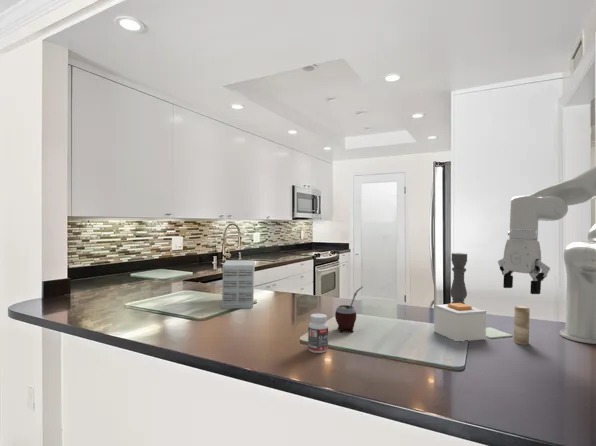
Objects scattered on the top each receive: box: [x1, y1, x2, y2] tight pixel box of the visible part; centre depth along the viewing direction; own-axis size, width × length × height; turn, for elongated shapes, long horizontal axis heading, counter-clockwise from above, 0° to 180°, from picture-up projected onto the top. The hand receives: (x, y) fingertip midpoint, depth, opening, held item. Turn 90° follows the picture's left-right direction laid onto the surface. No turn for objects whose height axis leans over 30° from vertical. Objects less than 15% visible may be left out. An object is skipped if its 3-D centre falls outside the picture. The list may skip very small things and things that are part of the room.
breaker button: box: [447, 302, 473, 311], centre depth 120 cm, size 5×5×3 cm
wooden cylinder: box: [513, 305, 530, 346], centre depth 114 cm, size 4×4×11 cm
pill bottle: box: [307, 313, 329, 354], centre depth 105 cm, size 6×6×10 cm
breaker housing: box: [433, 303, 487, 342], centre depth 120 cm, size 11×11×9 cm
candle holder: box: [449, 252, 468, 304], centre depth 143 cm, size 6×6×25 cm
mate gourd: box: [334, 286, 364, 334], centre depth 124 cm, size 8×8×15 cm
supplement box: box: [221, 259, 255, 309], centre depth 160 cm, size 17×13×18 cm
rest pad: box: [486, 326, 513, 339], centre depth 123 cm, size 9×9×1 cm
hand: (521, 290), depth 114 cm, fingers open, 9 cm apart
